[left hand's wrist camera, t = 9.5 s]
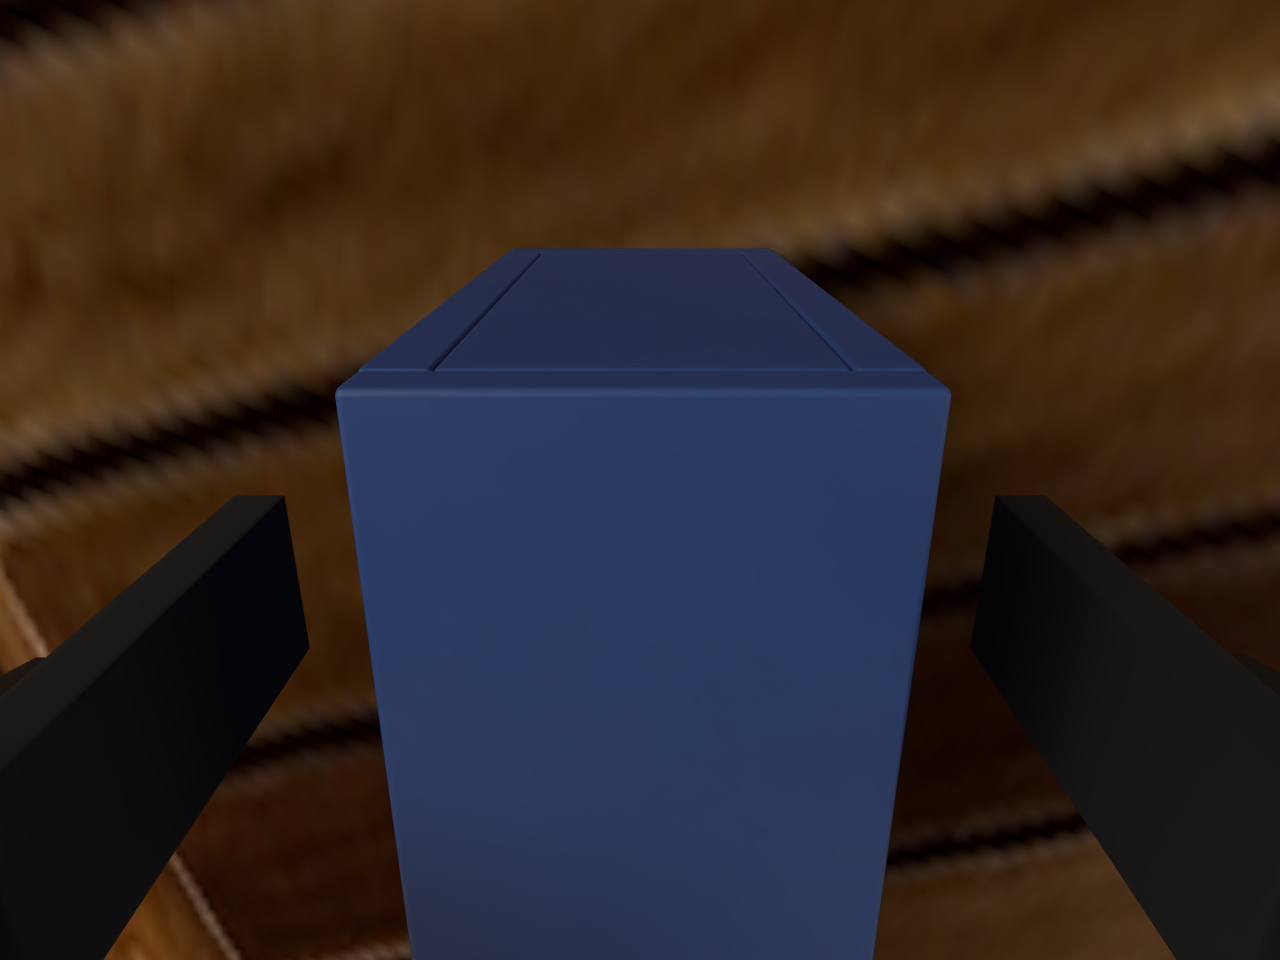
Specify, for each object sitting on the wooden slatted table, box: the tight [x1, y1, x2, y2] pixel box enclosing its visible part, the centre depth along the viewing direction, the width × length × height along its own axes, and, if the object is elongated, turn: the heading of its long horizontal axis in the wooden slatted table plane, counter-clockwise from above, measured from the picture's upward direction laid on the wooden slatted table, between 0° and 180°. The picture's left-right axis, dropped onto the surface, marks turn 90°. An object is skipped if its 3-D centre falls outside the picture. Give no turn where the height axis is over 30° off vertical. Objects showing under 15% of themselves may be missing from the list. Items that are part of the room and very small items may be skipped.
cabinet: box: [335, 249, 951, 960], centre depth 16 cm, size 19×5×11 cm, turn 0°
